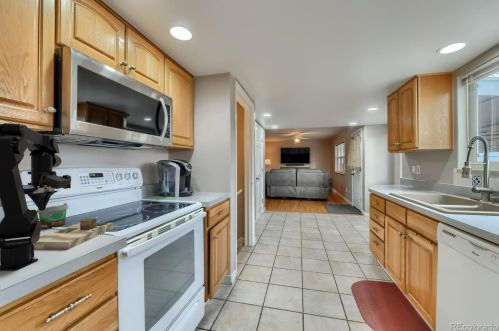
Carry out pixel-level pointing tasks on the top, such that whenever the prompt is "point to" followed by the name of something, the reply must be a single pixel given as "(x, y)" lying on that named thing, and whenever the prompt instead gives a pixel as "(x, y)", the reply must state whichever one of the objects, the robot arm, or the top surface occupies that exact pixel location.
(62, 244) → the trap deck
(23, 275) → the top surface
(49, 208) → the food container
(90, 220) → the walnut block
